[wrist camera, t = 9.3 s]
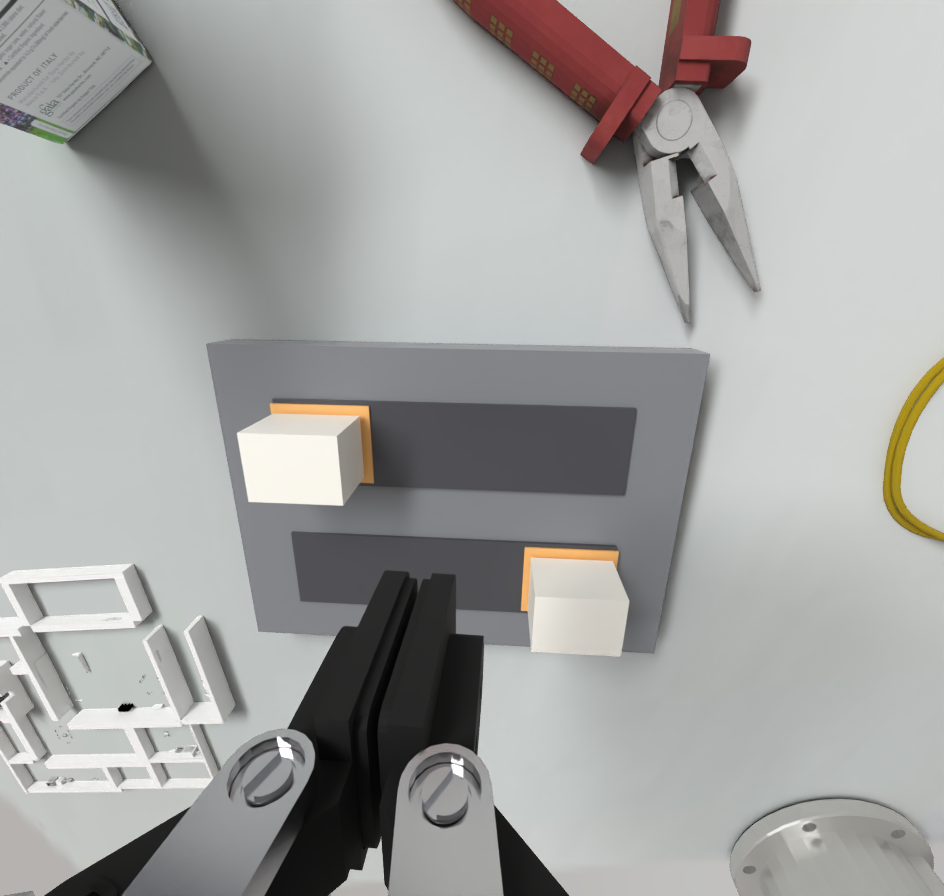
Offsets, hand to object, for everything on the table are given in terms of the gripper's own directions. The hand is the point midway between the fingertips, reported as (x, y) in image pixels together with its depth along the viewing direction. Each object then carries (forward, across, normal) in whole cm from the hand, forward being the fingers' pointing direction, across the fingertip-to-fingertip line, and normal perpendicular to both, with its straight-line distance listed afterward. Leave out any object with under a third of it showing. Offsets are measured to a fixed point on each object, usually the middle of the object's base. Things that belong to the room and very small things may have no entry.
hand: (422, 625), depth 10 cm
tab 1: (+10, +7, -1) cm, 13 cm away
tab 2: (+11, -5, +6) cm, 14 cm away
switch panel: (+13, +1, +2) cm, 13 cm away
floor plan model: (+14, +26, +15) cm, 33 cm away
